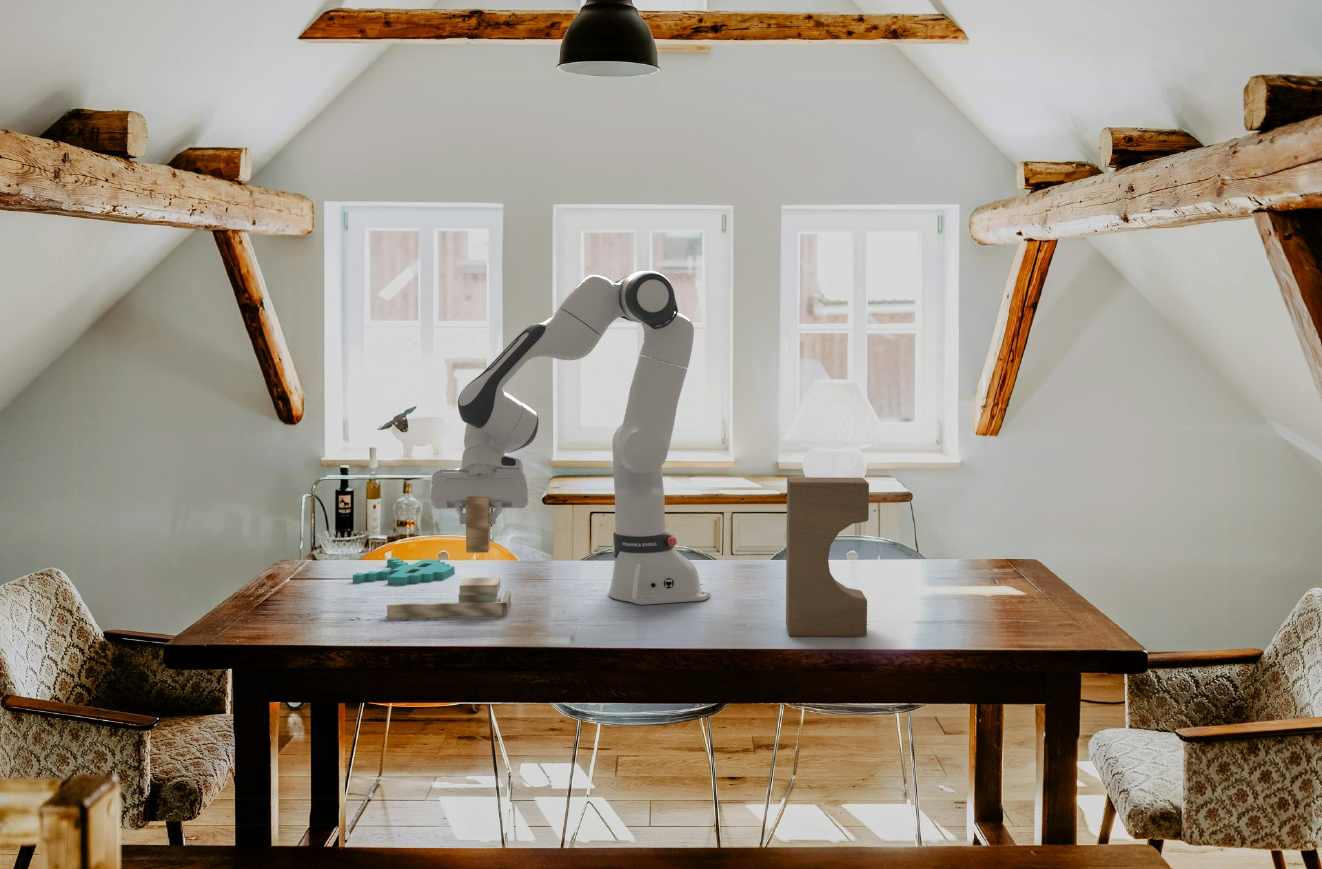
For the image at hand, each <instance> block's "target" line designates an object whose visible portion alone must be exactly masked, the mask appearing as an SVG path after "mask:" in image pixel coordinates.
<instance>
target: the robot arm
mask: <svg viewBox="0 0 1322 869" xmlns="http://www.w3.org/2000/svg"><path fill="white" fill-rule="evenodd" d="M618 318H622V319H625V320H627V321H629V322H635V323H641V326H642V329H643V343H642V345H641V349H640V352H639V355H638V360H637V363H636V367H635V368H634V369H635V370H634V373H633V376H632V377H633V378H632V381H631V384H630V387H629V393H628V398H627V404H626V409H625V414H624V417H623V422H622V424H620V425H619V427H617V428H616V430H615V432H614V434H613V437H612V442H611V444H612V466H613V468H612V469H613V470H612V471H613V486H614V523H615V525H614V526H615V528H614V530H615V531H614V532H613V537H612V554H613V558H614V561H613V562H614V563H613V569H612V570H613V572H612V577H611V583H610V587H609V590H608V593H607V594H608V596H609V597H610V598H612V599H613V600H618V601H624V602H628V603H629V602H630V603H632V604H636V605H640V606H641V605H656V604H657V605H658V604H669V603H670V604H672V603H686V602H700V601H701V602H702V601H705V600H707V599H709V597H710V591H709V588H708V586H706V585H705V584H704V583H701V582H700V577H699V573H698V569H697V567H696V565H695V564H694V563H693V562H692V561H691V560H689V559H688V558H686V557H685V556H684V555H683V554H681V553H680V552H678V551H677V550H676V549H675V548H674V547H676V545H677V544H678V541H677V540H678V539H677V538H676V537H675V536H674V535H673V534H671V532H667V531H666V530H665V529H666V528H665V527H666V524H665V518H666V516H665V514H666V513H665V508H666V507H665V504H666V503H665V490H664V481H663V469H662V467H663V465H664V463H665V462H666V460H667V457H668V453H669V449H670V444H671V439H672V435H673V431H674V427H675V420H676V415H677V410H678V409H677V408H678V405H679V400H680V397H681V393H682V389H683V386H684V383H685V379H686V375H687V372H688V369H689V365H690V360H691V356H692V351H693V344H694V334H695V328H694V324H693V323H692V321H691V320H690V318H688V317H686V316H685V315H683V314H681V313H679V309H678V304H677V300H676V296H675V290H674V287H673V285H672V282H671V281H670V280H669V279H668V277H666V276H665V275H663V274H662V273H660V272H658V271H654V270H643V271H642V270H641V271H637V272H634V273H633V272H632V273H631V274H629V275H627V276H625V277H623V278H621V279H619V280H617V281H615V282H613V281H611V280H610V279H608V278H607V277H604V276H602V275H597V274H591V275H588V276H586V277H585V278H584V279H582V280H581V281H580V283H579V284H578V285H576V287H575V288H573V290H572V291H571V292H570V293H569V295H568V296H567V297H566V298H565V299H564V300H563V301H562V304H561V305H560V306H559V308H558V309H557V310H556V312H554V313H553V315H552V316H550V317H549V318H548V319H547V320H544V321H543V322H533V323H532V324H530V325H529V326H527V327H526V328H524V330H522V331H521V332H520V333H519V335H517V336H516V337H515V338H514V339H513V340H512V341H511V342H510V343H509V345H507V347H505V348H504V350H502V352H501V353H500V354H499V355H498V356H496V358H495V359H494V360H493V361H492V362H491V363H490V364H489V365H488V367H487V368H486V369H484V371H482V372H481V373H480V374H479V375H478V376H477V377H476V378H474V379H473V380H471V381H470V382H469V383H467V385H466V386H465V387H464V388H463V390H462V391H461V392H460V394H459V396H458V399H457V408H458V413H459V416H460V419H461V421H463V422H464V423H465V424H466V426H465V430H464V438H463V443H464V451H463V453H462V458H461V468H451V469H446V468H441V469H439V470H438V471H435V472H434V473H433V474H432V477H431V485H432V487H431V490H430V496H429V498H430V499H429V500H430V503H431V505H432V507H433V509H436V510H439V509H440V510H441V509H443V510H446V509H448V510H449V509H455V512H456V514H457V516H458V517H459V524H460V525H466V512H465V513H464V509H466V500H465V499H466V498H467V497H468V496H489V501H490V509H494V510H493V511H492V512H490V513H489V514H488V516H489V517H488V522H489V524H490V525H495V524H497V518H498V517H499V515H500V514H501V513H502V512H503V509H524V508H526V507H527V506H528V505H529V493H528V492H529V489H528V483H527V477H526V474H525V473H524V467H523V463H522V460H521V459H519V458H515V457H512V456H508V455H505V454H510V453H513V452H516V451H519V450H521V449H524V448H526V447H527V446H529V445H530V444H532V443H533V441H534V440H535V438H536V436H537V433H538V430H539V422H540V421H539V417H538V416H539V415H538V413H537V411H536V410H534V409H533V408H532V407H531V406H529V405H528V404H526V403H524V402H523V401H521V400H519V399H518V398H516V397H514V396H513V395H511V394H510V393H508V392H507V391H506V390H503V388H504V387H505V385H506V384H507V383H508V382H509V381H510V380H511V379H512V378H513V377H514V376H515V375H516V373H518V372H519V370H520V369H521V368H522V367H523V366H524V365H525V364H526V363H527V362H528V361H530V360H532V359H533V358H534V359H535V358H538V357H545V358H546V357H547V358H552V359H557V360H561V361H575V360H580V359H582V358H583V359H584V357H587V356H588V355H589V354H590V353H592V351H593V350H594V349H595V347H596V346H597V344H598V343H599V342H600V341H601V338H602V337H603V336H604V334H605V332H606V331H607V330H608V327H610V325H611V324H612V323H613V322H615V321H616V320H617V319H618Z"/></svg>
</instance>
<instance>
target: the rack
mask: <svg viewBox="0 0 1322 869" xmlns="http://www.w3.org/2000/svg"><path fill="white" fill-rule="evenodd" d="M511 594H512V592H511V590H506V591H505V593H504V596H503V599H502V601H501V602H463V603H459V602H425V603H424V602H422V603H419V602H418V603H417V602H413V603H410V602H409V603H408V602H407V603H387V604H386V616H387V617H386V618H387V619H392V618H393V619H394V618H395V619H399V618H400V619H401V618H403V619H404V618H406V619H407V618H453V617H454V618H455V617H456V618H458V617H459V618H460V617H462V618H463V617H495V616H496V617H508V613H509V610H510V606H511V604H512V598H511V597H512V596H511Z"/></svg>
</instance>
